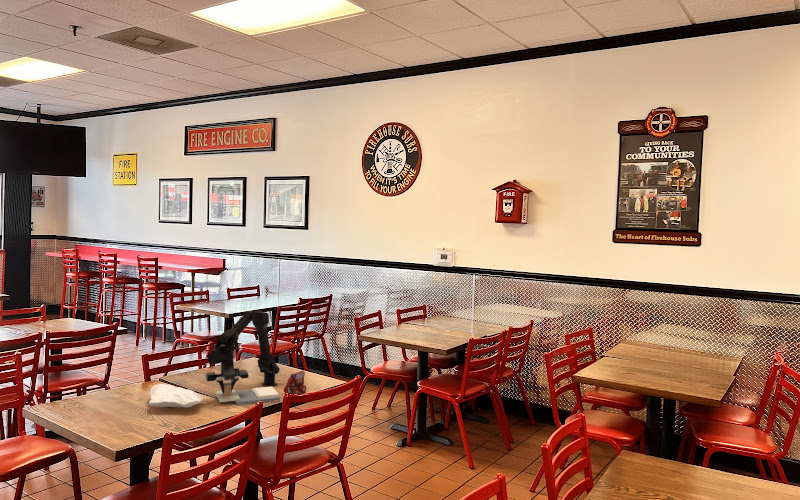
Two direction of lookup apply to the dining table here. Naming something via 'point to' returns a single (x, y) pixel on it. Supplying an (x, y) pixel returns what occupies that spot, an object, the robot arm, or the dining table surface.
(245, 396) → the board
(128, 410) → the dining table surface
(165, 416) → the dining table surface
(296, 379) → the toy fire truck
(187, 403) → the white rock
